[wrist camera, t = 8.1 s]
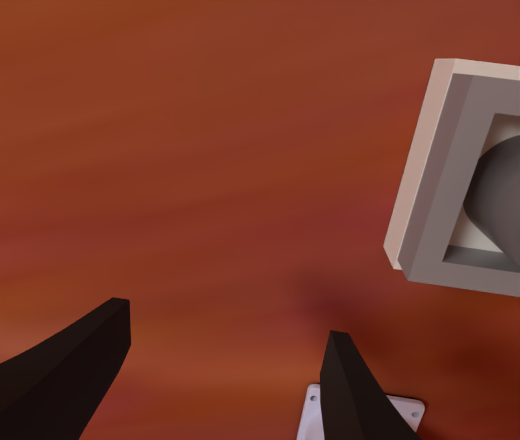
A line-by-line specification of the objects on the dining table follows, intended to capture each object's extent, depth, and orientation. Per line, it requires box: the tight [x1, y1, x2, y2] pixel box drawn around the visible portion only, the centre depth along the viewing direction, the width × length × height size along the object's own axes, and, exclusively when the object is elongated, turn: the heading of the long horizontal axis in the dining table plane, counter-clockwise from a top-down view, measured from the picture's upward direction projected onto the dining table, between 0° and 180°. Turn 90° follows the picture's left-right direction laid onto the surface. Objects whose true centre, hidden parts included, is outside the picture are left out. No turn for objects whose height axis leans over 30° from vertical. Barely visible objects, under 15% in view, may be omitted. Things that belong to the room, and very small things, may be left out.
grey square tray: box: [383, 59, 520, 297], centre depth 17 cm, size 10×9×4 cm
